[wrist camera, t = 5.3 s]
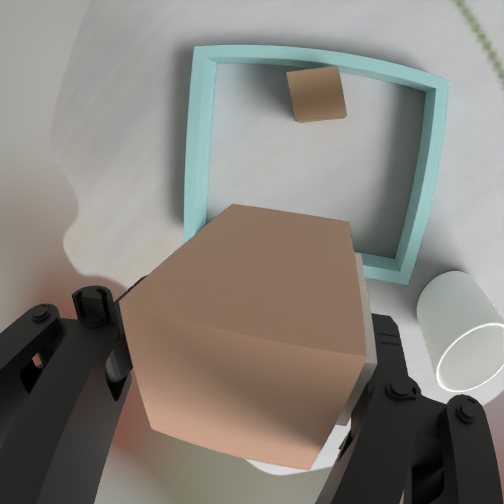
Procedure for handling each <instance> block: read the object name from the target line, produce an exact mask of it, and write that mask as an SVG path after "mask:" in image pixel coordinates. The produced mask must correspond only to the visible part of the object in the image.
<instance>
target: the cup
mask: <svg viewBox="0 0 504 504" xmlns="http://www.w3.org/2000/svg"><path fill="white" fill-rule="evenodd" d="M417 318H418V322H419V325H420V328H421V331H422V334H423V337H424V340H425V343H426V347H427V350H428V353H429V356H430V360H431V363H432V367H433V370H434V374H435V377H436V381H437V383H438V384H439V385H440V386H441V387H442V388H443V389H445V390H447V391H451V392H463V391H468V390H471V389H474V388H476V387H479V386H481V385H482V384H484V383H486V382H487V381H489V380H490V379H491V378H492V377H494V376H495V375H496V374H497V373H498V372H499V371H500V370H501V368H502V367H503V366H504V319H503V318H502V316H501V315H500V313H499V312H498V310H497V309H496V308H495V306H494V305H493V303H492V302H491V300H490V299H489V298H488V296H487V295H486V294H485V292H484V291H483V289H482V288H481V287H480V285H479V284H478V283H477V282H476V280H475V279H474V278H473V277H471V276H470V275H469V274H467V273H464V272H461V271H450V272H446V273H443V274H441V275H439V276H437V277H436V278H434V279H433V280H432V281H431V282H429V283H428V285H427V286H426V287H425V288H424V290H423V291H422V293H421V295H420V297H419V300H418V304H417Z"/></svg>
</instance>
